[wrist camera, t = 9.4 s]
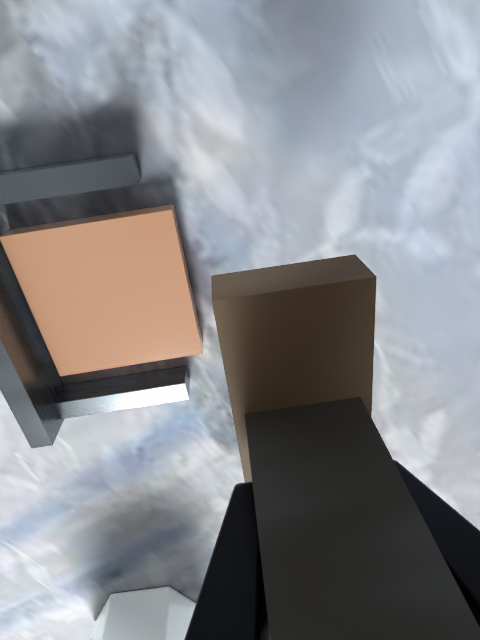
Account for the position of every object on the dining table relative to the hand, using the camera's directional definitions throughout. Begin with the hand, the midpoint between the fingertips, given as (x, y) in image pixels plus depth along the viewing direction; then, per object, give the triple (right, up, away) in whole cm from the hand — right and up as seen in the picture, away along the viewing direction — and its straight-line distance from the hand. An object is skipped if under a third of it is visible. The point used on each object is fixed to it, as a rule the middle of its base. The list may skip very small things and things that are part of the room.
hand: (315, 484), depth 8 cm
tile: (-7, +5, +11) cm, 14 cm away
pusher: (0, +1, +2) cm, 2 cm away
